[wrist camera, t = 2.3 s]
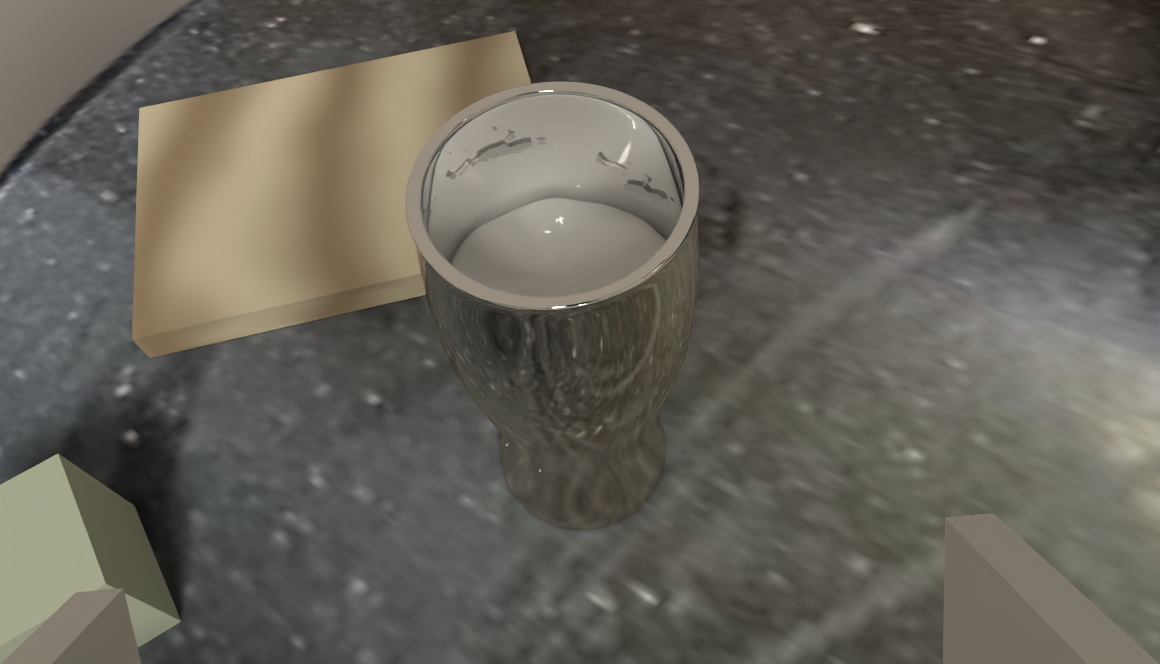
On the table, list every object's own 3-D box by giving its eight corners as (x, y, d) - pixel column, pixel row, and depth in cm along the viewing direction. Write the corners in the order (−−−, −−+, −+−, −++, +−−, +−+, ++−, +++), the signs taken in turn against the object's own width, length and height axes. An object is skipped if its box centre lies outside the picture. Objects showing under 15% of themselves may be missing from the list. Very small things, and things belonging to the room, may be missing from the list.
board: (518, 55, 43) (515, 30, 42) (580, 259, 36) (578, 237, 35) (154, 131, 42) (139, 108, 40) (150, 357, 35) (131, 339, 34)
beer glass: (530, 348, 34) (470, 49, 21) (699, 397, 33) (744, 108, 20) (459, 507, 31) (339, 267, 18) (644, 570, 30) (655, 357, 17)
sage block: (135, 506, 32) (57, 453, 27) (182, 621, 30) (105, 583, 25) (0, 583, 31) (-103, 540, 26) (37, 710, 28) (-68, 686, 24)
